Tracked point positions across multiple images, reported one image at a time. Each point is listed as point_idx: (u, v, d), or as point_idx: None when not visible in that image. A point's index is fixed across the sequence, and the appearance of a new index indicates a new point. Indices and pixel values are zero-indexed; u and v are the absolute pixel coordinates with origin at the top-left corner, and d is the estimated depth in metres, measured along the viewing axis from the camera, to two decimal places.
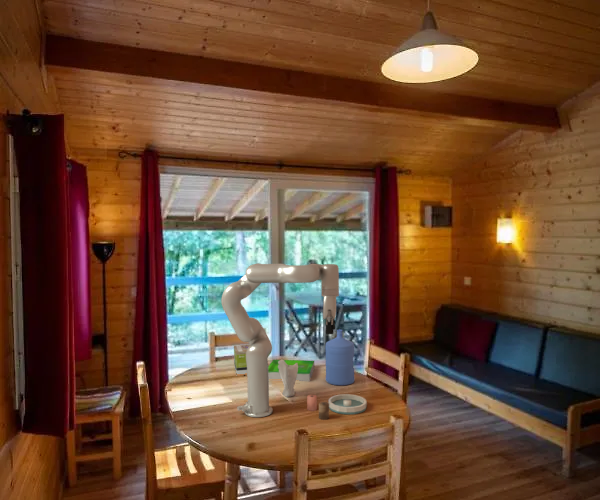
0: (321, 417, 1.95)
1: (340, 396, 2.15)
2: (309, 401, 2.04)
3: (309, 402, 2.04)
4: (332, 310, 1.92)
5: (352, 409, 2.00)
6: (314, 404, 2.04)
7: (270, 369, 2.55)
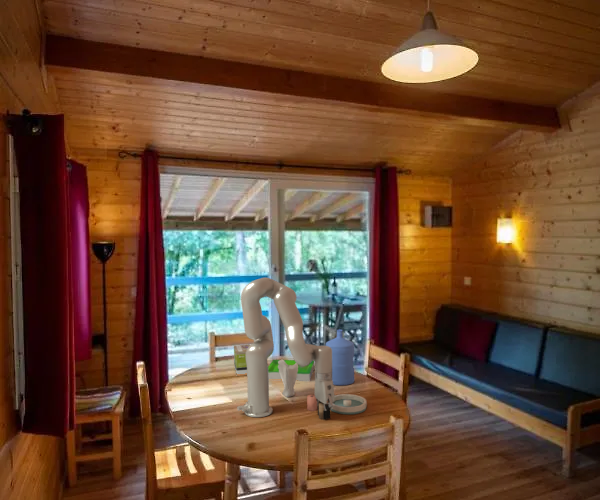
0: (321, 417, 1.95)
1: (340, 396, 2.15)
2: (309, 401, 2.04)
3: (309, 402, 2.04)
4: None
5: (352, 409, 2.00)
6: (314, 404, 2.04)
7: (270, 369, 2.55)
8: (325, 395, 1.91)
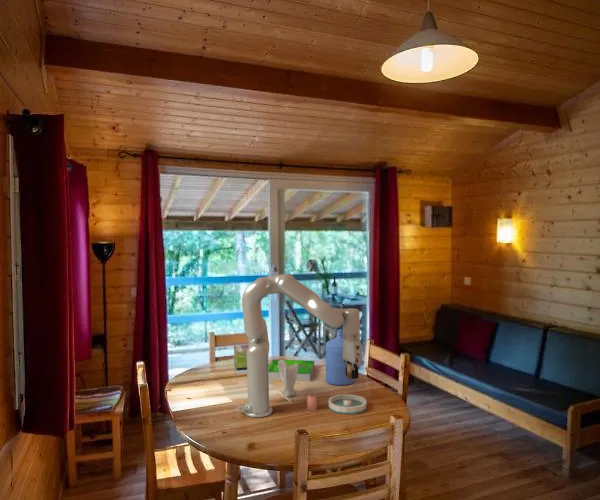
0: (349, 376, 2.01)
1: (340, 396, 2.15)
2: (309, 401, 2.04)
3: (309, 402, 2.04)
4: None
5: (352, 409, 2.00)
6: (314, 404, 2.04)
7: (270, 369, 2.55)
8: (353, 355, 1.98)
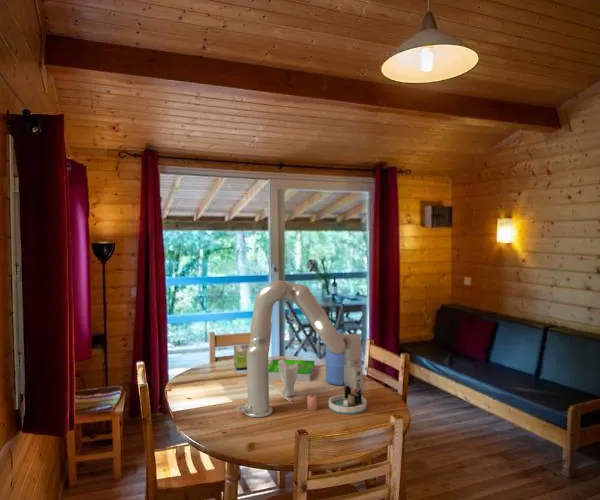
0: None
1: (340, 396, 2.15)
2: (309, 401, 2.04)
3: (309, 402, 2.04)
4: None
5: (352, 409, 2.00)
6: (314, 404, 2.04)
7: (270, 369, 2.55)
8: (355, 381, 1.99)
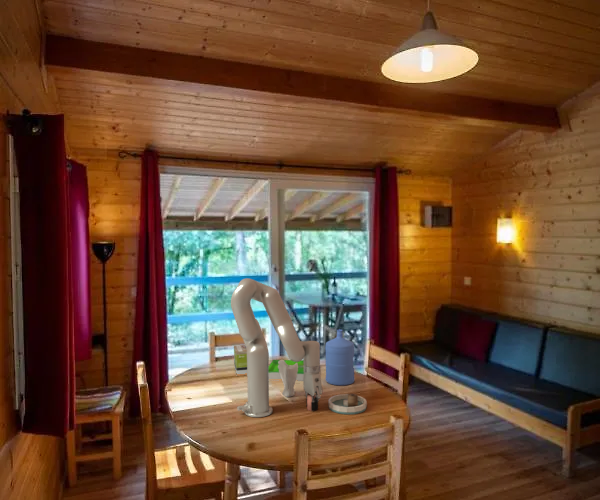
0: None
1: (340, 396, 2.15)
2: (309, 401, 2.04)
3: (309, 402, 2.04)
4: None
5: (352, 409, 2.00)
6: None
7: (270, 369, 2.55)
8: (313, 387, 2.01)
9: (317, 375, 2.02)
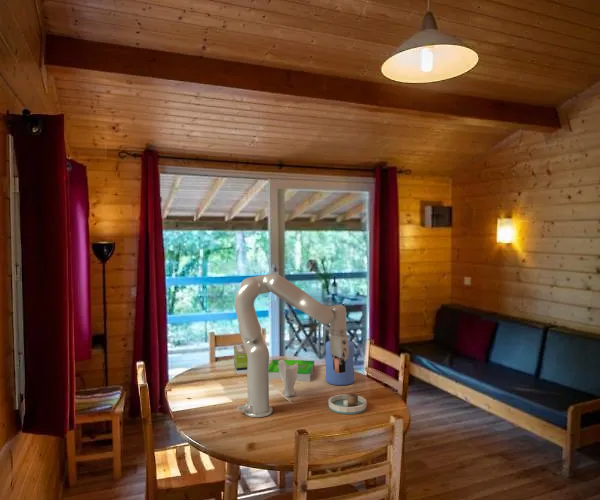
0: None
1: (340, 396, 2.15)
2: (336, 363, 2.09)
3: (337, 364, 2.10)
4: None
5: (352, 409, 2.00)
6: None
7: (270, 369, 2.55)
8: (340, 349, 2.06)
9: (344, 338, 2.07)
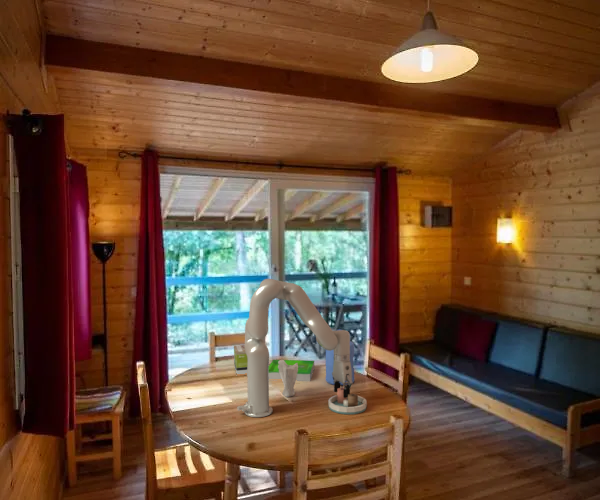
0: None
1: None
2: (339, 394, 2.10)
3: (339, 395, 2.10)
4: None
5: (352, 409, 2.00)
6: None
7: (270, 369, 2.55)
8: (343, 375, 2.07)
9: (347, 363, 2.08)
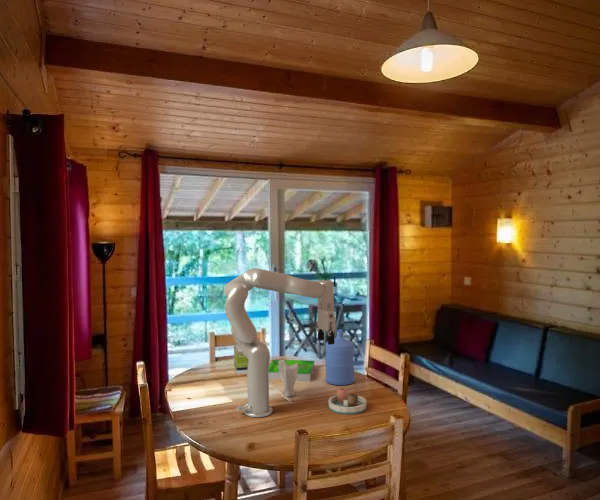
0: None
1: None
2: (339, 394, 2.10)
3: (339, 395, 2.10)
4: None
5: (352, 409, 2.00)
6: (345, 396, 2.10)
7: (270, 369, 2.55)
8: (327, 323, 2.10)
9: (331, 311, 2.11)
